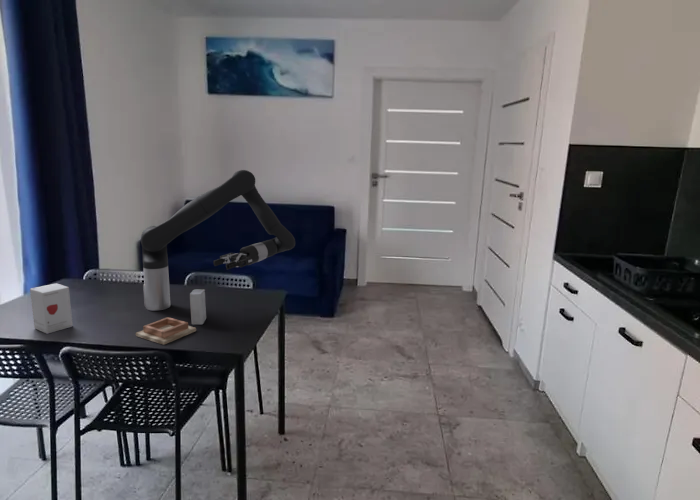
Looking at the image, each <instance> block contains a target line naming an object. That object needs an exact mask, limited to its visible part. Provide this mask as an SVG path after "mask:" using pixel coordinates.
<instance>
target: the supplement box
mask: <svg viewBox="0 0 700 500" xmlns="http://www.w3.org/2000/svg"><path fill="white" fill-rule="evenodd" d="M29 290H30V291H29V292H30V299H31V301H30V302H31V310H32V319H33V326H34V327H33V328H34V329H35V330H38V331H40V332H42V333H44V334H51V333H55V332H59V331H61V330H65V329H67V328H72V327H73V315H72V314H73V313H72V306H71V295H70V287H69V286H66V285H63V284H60V283H57V282H56V283H51V284H47V285H46V284H45V285H42V286H37V287H31V288H29Z"/></svg>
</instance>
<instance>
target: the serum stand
mask: <svg viewBox="0 0 700 500" xmlns="http://www.w3.org/2000/svg"><path fill="white" fill-rule="evenodd" d="M142 328H143V329H142V330H139V331H137V332H135V337H138V338H142V339H143V340H144V339H145V340H147V341H150V342H153V343H157V344H158V345H159V344H160V345H166V344H169V343H172V342H174V341H176V340H179V339H181V338H183V337H185V336H188V335H190V334H193V333H194V332H197V328H196V327H193V326H191V325H189V322H188V321H184V320H179V319H176V318H172V317H170V316H169V317H167V316H166V317H164V318H162V319H158V320H157V321H154V322H151V323H148V324H145V325H143V327H142Z"/></svg>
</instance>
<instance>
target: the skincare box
mask: <svg viewBox="0 0 700 500" xmlns="http://www.w3.org/2000/svg"><path fill="white" fill-rule="evenodd" d="M205 291H206V289H200V288H199V289H197V288H196V289H195V288H194V289H193V290H192V291H191V292H190V293H189V304H190V318H191V320H190V321H191V325H194V326H195V325H203V324H205V322H206V319H207V309H206V292H205Z"/></svg>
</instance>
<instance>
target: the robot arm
mask: <svg viewBox="0 0 700 500" xmlns="http://www.w3.org/2000/svg"><path fill="white" fill-rule="evenodd" d="M255 177H256V176H255V175H254V174H253V173H252V172H251V171H249V170H246V169H240V170H237V171H235V172H234V173H233V175H232V176H231V177H230V178H229V179H227V180H226V181H225V182H223V183H222V184H221V185H219V186H217V187H215V188H212V189H211V190H208V191H206V192H204V193H202V194H200V195H198V196H197V197H196V198H193V199H192V200H191V201H189V202H187V203H186V204H184V205H183V206H182V207H181V208H180V209H179V210H177V212H176V213H174V214H173V215H172V216H171V217H169V218H168V219H167V220H165V221H163V222H161V223H159V224H158V225H151V226H147V227H145V229H144V230H143V231H142V233H141V235H140V243H141V250H142V270H143V281H144V284H143V285H142V289H143V302H144V307H145V309H146V310H147V311H153V312H154V311H155V312H156V311H162V310H163V311H164V310H166V309H168V308H170V307H171V291H170V277H169V259H168V248H167V247H168V244H170V243H171V242H172V241H173V240H175V239H176V238H177V237H179V236H180V235H181V234H184V233H185V232H187V231H189V230H190V229H193V228H194V227H196V226H198V225H199V224H201V223H202V222H204V221H206V220H208V219H209V218H211V217H212V216H213V215H215V214H216V213H217V212H219V211H220V210H221V209H223V208H224V207H225V206H226V205H227V204H229V203H230V202H231V201H233V200H235V199H237V198H239V197H240V196H241V197H243V199H244V200H245V201H246V203H247V204H248V205H249V206H250V208H251V209H252V211H253V212H254V214H255V216H256V217H257V220H258V221H259V222H260V224H261V225H262V227H263V228H264V230H265V232H266V233H267V234H268V235H270V236H271V235H272V236H274V238H270V239H267V240H263V241H261V242H260V241H259V242H257V243H253V244H250V245H247V246H243V247H241V248H240V250H239V251H238V252H237V253H235V252H229V253H226V254H223V255H220V256H219V258H217V259H215V260H213V262H212V263H213V266H214V267H217V266H220V265H223V264H225V269H226V270H231V269H234V268H243V267H246V266H250V265H252V264H255V263H259V262H261V261H264V260H265V259H268V258H270V257H273V256H275V255H276V254H280V253H284V252H286V251H290V250H292V249H294V248H295V246H296V239H295V237H294V235H293V234H292V233H291V231H289V230H288V229H287V228H286V226H284V225H283V224H282V223H281V221H280V220H279V218H278V216H277V215H276V213H274V211H273V209H271V207H270V206H269V204H268V203H267V202H265V200H264V199H263V197H262V196H261V194H260V193H259V191H258V189H257V187H256V178H255Z"/></svg>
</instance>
